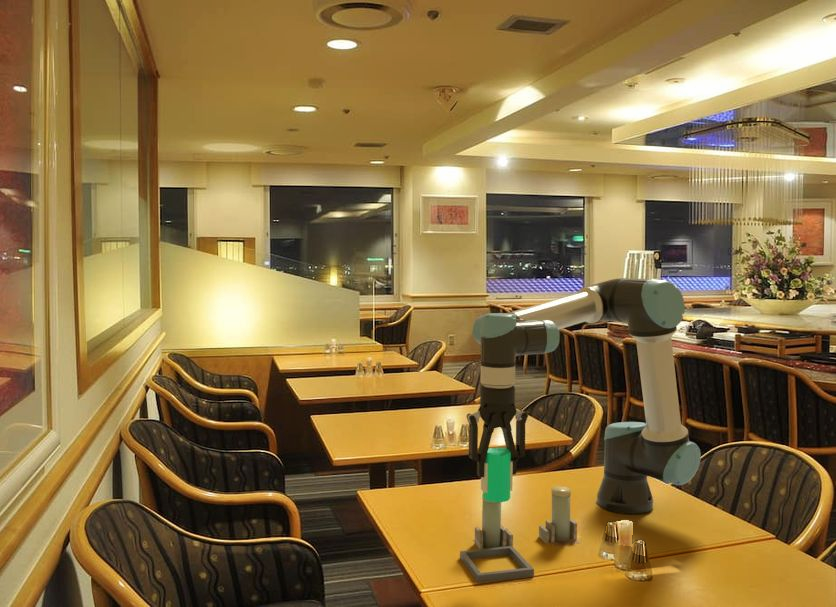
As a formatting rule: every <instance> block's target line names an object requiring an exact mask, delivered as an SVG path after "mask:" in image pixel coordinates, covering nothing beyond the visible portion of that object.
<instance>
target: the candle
mask: <svg viewBox="0 0 836 607" xmlns="http://www.w3.org/2000/svg"><path fill="white" fill-rule="evenodd" d="M510 462H511V452H510V451H509V450H508V449H507V448H504V447H492V448H491V447H490V448H488V452H487V456H486V460H485V463H488V493H484V492H483V491H482V495H483V498H484V499H485V500H487V501H491V502H501V503H504V502H508V501H509V500H511V491H510Z"/></svg>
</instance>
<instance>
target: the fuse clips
mask: <svg viewBox="0 0 836 607" xmlns="http://www.w3.org/2000/svg"><path fill="white" fill-rule="evenodd" d="M538 537H539V539H540V540H542V541H543V542H544V543H545V544H549V543H550V542H551V543H552V544H553V545H554V546H555V547H559V546H567V545H568V546H569V545H574V544H575V545H576V544H581V542H580V541H579V540H578V522H576V521H575V520H573V519H572V518H571V517H570V539H569V540H568V541H563V542H562V541H556V540H555V525H554V524H553V523H552V521H551V520H549V519H545V526H544V525H542V524H541V525H540V524H539V526H538ZM472 542H474V545H475V546H476V547H477V548H478V549H487V548H485V547H483V532H482V529H480V528H479V526H475V527H474V539H472ZM506 546H513V547H514V534H513V533H512V532H511V531H510V530H509V529H508V528H505V527H504V526H503V525H502V524H501V532H500V547H506Z"/></svg>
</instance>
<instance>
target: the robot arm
mask: <svg viewBox="0 0 836 607" xmlns="http://www.w3.org/2000/svg"><path fill="white" fill-rule="evenodd" d="M685 306H686V305H685V300H684V296H683V293H682V292H681V290H680V288H679V287H678V286H677V285H675V284H674V283H673V282H672V281H669V280H663V279H659V278H658V279H657V278H627V277H620V278H613V279H609V280H605V281H601V282H598V283H594V284H591V285H588V286H584V287H581V288H579V290H578V291H577V292H576V293H573V294H570V295H567V296H564V297H560V298H556V299H552V300H549V301H545V302H541V303H537V304H534V305H531V306H527V307H523V308H520V309H516V310H513V311H510V312H505V313H504V312H503V313H502V312H497V313H493V312H491V313H490V312H489V313H485V314H484V315H480V316H479V317H477V319H476V320H475V321H474V323H473V325H472V336H473V339H474V341H475V342H476V343H477V344H479V345H480V383H481V384H482V385H480V388H479V389H480V393H479V394H480V395H479V398H480V399H479V402H480V403H479V404H480V405H479V407H478V410H477V411H476V412H474V413H467V415H466V420H467V422H468V457H469V458H470V459H471V461H473V462H476V474H477V476H478V477H479V478H480V490H481V491H482V493H483V492H484V493H488V463H485V460H486V456H487V452H488V448H489V447H490V443H491V440H492V435H493V433H494V431H495V429H497V428H501V430H502V435H503V439H504V442H505V447H506V449H508V450H509V451H510V452H511V462H510V492H512V491H513V475H514V476H515V475H517V462H519V460H520V458H525V456H526V423H527V420H528V417H529V414H528V413H527V412H525V411H524V410H518V409H517V407H516V386H515V384H516V360H517V359H516V358H517V357H519V356H528V355H529V356H530V355H544V354H547V353H552V352H554V351H555V350H556V349H557V348H558V346H559V344H560V337H561V336H560V330H562V329H565V328H569V327H572V326H574V325H579V324H582V323H588V324H594V323H598V322H616V323H624V324H627V327H628V329H627V330H628V335H629V336H630V337H632V338H633V339H634V340H635V342H636V349H637V358H638V367H639V368H638V369H639V375H640V385H641V392H642V399H643V400H642V401H643V409H644V417H645V422H642V421H641V422H640V421H621V422H613V423H611V424H607V426H606V427H605V430H604V438H603V442H604V443H603V451H604V452H603V478H602V479H601V483H600V486H599V488H598V491H597V494H596V503H597V505H598V506H599V507H600V508H603V509H604V510H608V511H610V512H613V513H618V514H628V515H629V514H631V515H632V514H633V515H639V514H645V513H648V512H651V511H652V510H653V509H654V498H653V494H652V491H651V488H650V485H649V481H648V477H649V478H653V479H655V480H659V481H662V482H664V483H665V484H672V485H676V486H683V485H685V484H687V483H689V482H690V481H691V480H692V479H693V478H694V476H695V475H696V473H697V471H698V470H699V467H700V464H701V458H702V456H701V455H702V454H701V449H700V447H699V446H698V445H697V443H695V442H693V441H690V439H689V438H690V437H689V430H688V428H687V427H685V426H684V425H683V424H682V422H681V413H680V404H679V402H680V401H679V395H678V387H677V385H678V384H677V377H676V376H677V375H676V367H675V360H674V359H675V357H674V351H673V340H672V336H673V335H675V333H677V330H678V328H677V326H679V325H680V324H681V323H682V320H683V318H684V316H683V315H684V314H685V311H686V309H685V308H686V307H685ZM514 417H515V441H514V437H513V434H512V433H513V432H512V430H513V428H512V425H511V422H512V420H513V419H514ZM480 419H482V421H483V427H482V434H481V437H480V442H478V440H479V427H478V426H479V425H478V423H479V422H480ZM478 444H479V445H478Z"/></svg>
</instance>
